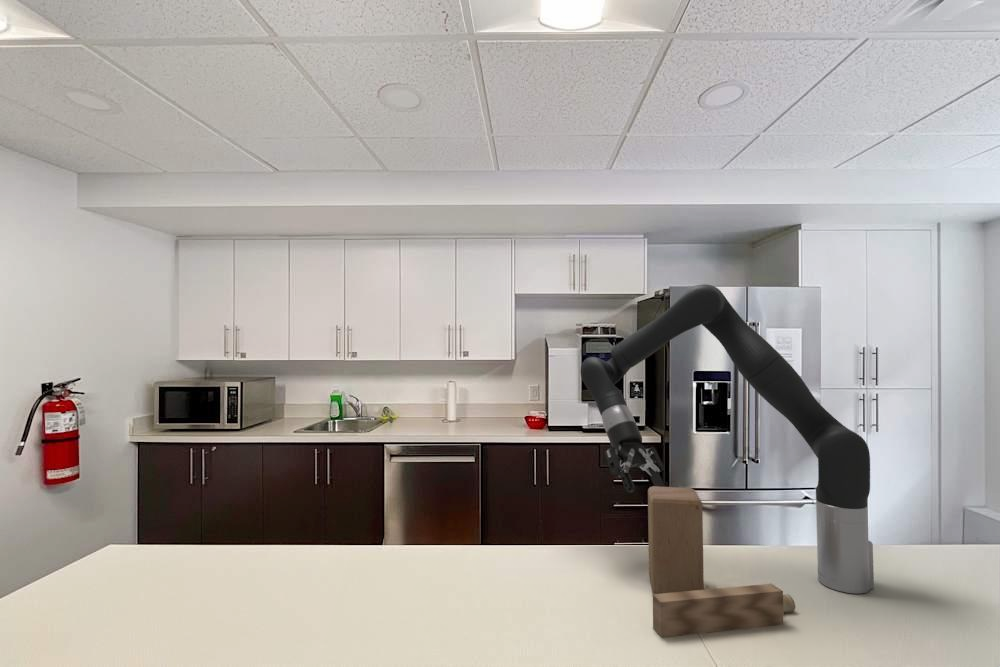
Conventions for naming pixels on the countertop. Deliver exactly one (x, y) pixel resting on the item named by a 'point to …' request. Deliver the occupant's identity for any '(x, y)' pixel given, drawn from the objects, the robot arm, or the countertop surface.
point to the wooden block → (675, 539)
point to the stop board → (717, 609)
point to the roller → (788, 603)
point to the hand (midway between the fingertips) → (646, 490)
